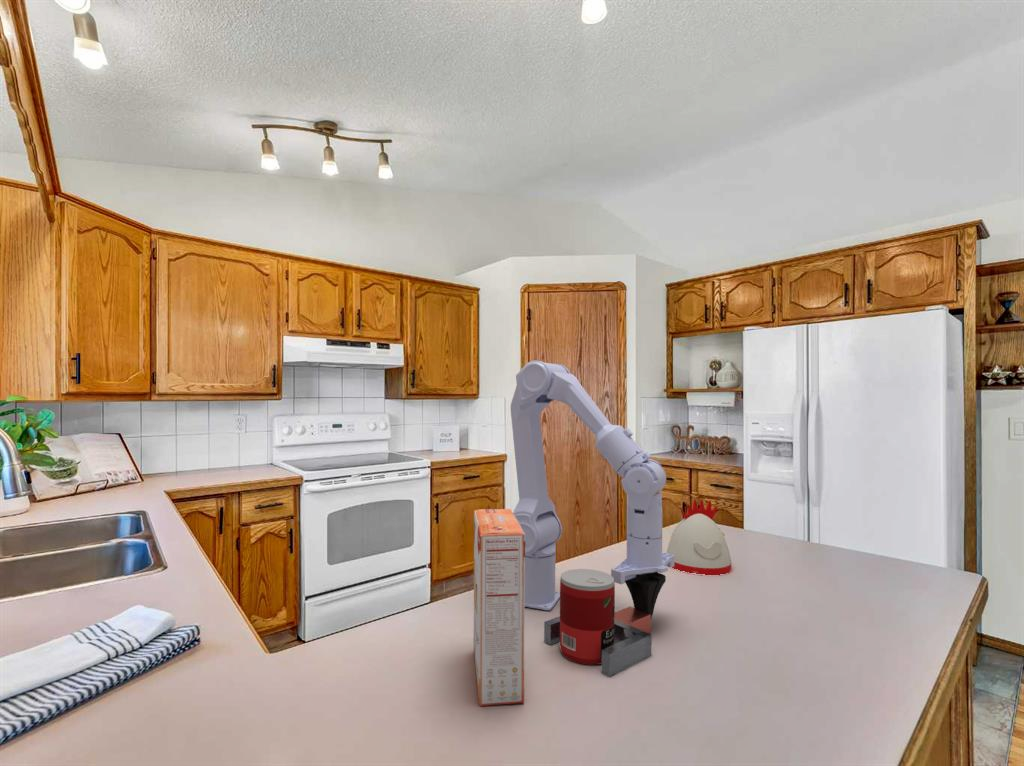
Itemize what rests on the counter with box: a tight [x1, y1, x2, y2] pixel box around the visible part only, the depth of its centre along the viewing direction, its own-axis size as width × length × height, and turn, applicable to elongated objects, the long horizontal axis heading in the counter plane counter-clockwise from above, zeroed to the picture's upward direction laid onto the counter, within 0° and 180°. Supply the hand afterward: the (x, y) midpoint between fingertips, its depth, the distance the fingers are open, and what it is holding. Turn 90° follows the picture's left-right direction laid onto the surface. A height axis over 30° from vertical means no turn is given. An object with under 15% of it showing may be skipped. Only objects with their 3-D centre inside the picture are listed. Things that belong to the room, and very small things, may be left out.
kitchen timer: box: [666, 498, 732, 576], centre depth 118 cm, size 14×14×15 cm
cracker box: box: [473, 508, 526, 707], centre depth 69 cm, size 14×6×21 cm, turn 7°
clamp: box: [543, 606, 653, 677], centre depth 79 cm, size 15×13×3 cm
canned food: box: [559, 568, 616, 666], centre depth 76 cm, size 8×8×11 cm
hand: (643, 618), depth 85 cm, fingers closed
